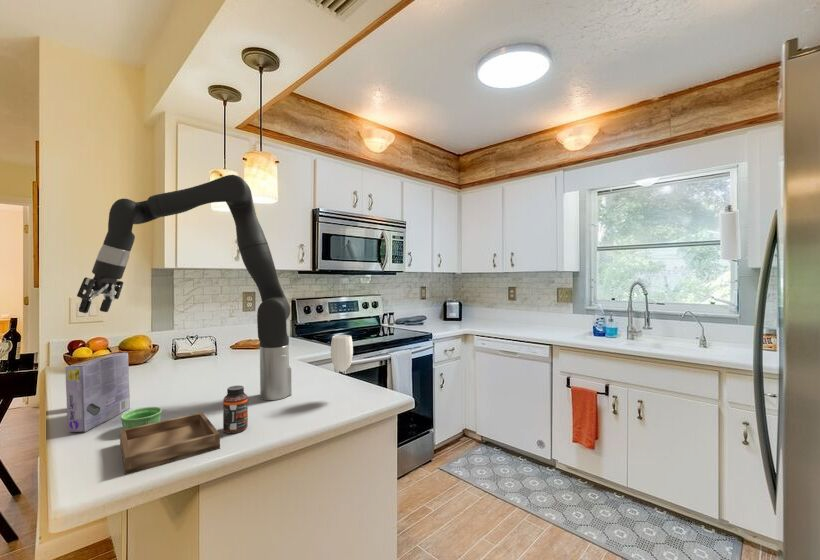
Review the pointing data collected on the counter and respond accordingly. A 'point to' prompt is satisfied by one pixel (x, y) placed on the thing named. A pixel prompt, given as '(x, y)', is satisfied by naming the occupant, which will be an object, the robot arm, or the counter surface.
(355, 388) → the counter surface
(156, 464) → the walnut tray
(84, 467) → the counter surface
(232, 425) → the supplement bottle
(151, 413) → the ramekin
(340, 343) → the cup
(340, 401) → the counter surface
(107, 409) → the cake pan box
